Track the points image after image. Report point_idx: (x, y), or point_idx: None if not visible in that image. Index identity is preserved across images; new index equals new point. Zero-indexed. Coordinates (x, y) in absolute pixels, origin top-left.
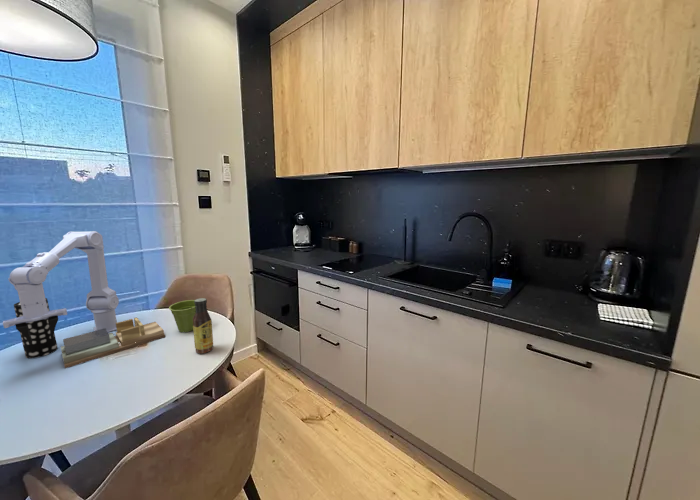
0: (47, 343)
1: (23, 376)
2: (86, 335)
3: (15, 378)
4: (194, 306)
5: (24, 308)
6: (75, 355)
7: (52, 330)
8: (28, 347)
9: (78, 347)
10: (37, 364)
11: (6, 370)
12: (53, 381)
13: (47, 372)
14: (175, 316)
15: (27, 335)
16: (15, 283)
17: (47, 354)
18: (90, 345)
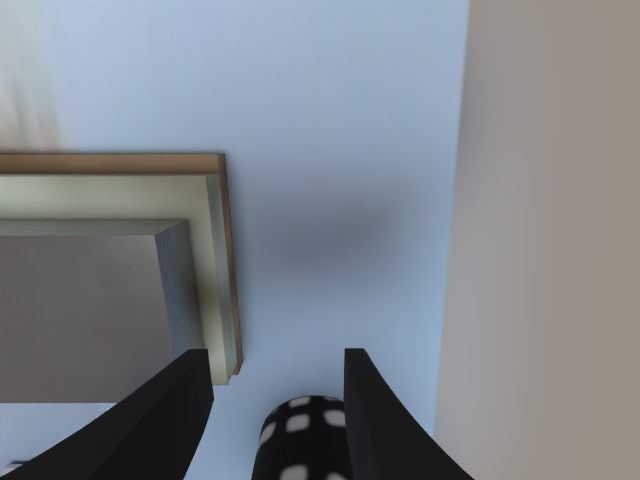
0: (281, 457)
1: (387, 222)
2: (32, 355)
3: (415, 227)
4: None
5: None
6: (141, 177)
7: (120, 412)
8: None
9: (99, 225)
10: (333, 319)
11: (436, 353)
12: (271, 9)
13: (297, 176)
14: None
15: (388, 424)
16: None
17: (296, 399)
18: (38, 223)
